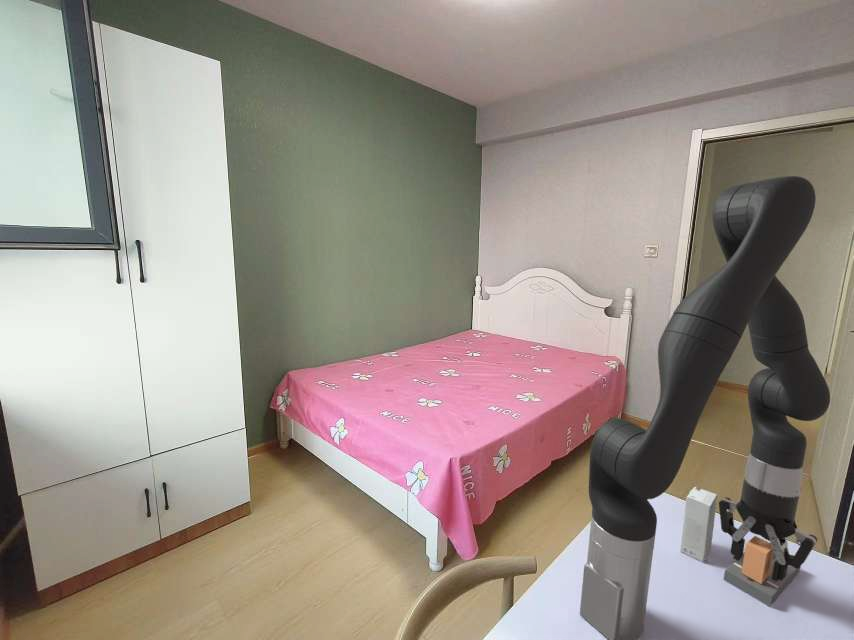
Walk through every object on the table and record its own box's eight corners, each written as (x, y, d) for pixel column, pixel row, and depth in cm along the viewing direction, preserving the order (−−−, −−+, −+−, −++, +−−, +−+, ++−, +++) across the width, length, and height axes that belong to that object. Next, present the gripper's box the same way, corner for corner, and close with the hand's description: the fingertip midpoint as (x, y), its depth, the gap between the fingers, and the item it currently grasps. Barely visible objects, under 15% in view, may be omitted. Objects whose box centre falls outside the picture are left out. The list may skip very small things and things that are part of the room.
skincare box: (704, 563, 80) (712, 507, 78) (678, 551, 83) (685, 496, 81) (711, 548, 84) (719, 494, 82) (686, 537, 87) (694, 485, 85)
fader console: (770, 607, 70) (771, 596, 70) (723, 579, 76) (724, 569, 76) (799, 571, 78) (801, 562, 78) (755, 549, 84) (757, 540, 84)
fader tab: (761, 584, 72) (766, 553, 71) (741, 572, 75) (746, 543, 74) (769, 574, 74) (775, 545, 73) (750, 564, 77) (755, 535, 76)
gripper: (715, 470, 75) (703, 552, 78) (819, 511, 64) (800, 606, 66) (732, 459, 80) (720, 537, 82) (833, 497, 68) (815, 586, 70)
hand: (756, 568), depth 74 cm, fingers open, 5 cm apart
